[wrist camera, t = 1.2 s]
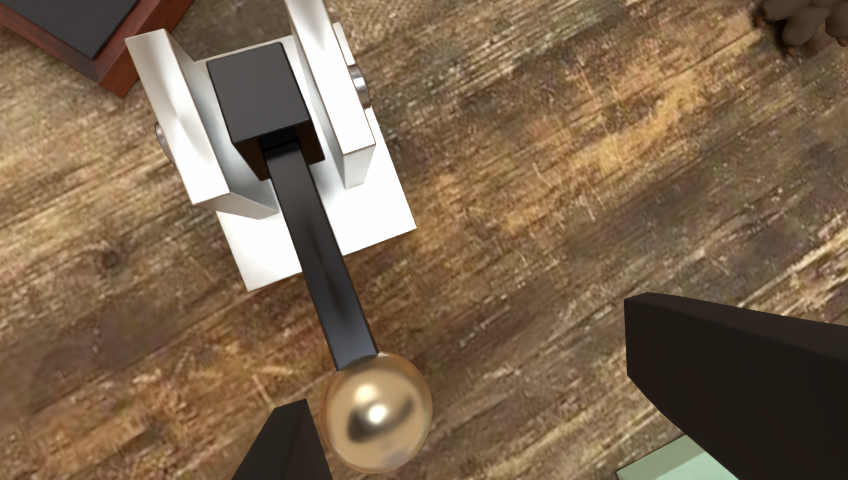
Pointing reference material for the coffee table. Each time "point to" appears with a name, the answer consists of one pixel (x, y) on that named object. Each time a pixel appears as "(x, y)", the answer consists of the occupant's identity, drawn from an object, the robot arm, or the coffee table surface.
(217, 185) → the bracket
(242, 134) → the lever
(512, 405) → the coffee table surface
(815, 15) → the figurine
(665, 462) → the block
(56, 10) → the picture frame
